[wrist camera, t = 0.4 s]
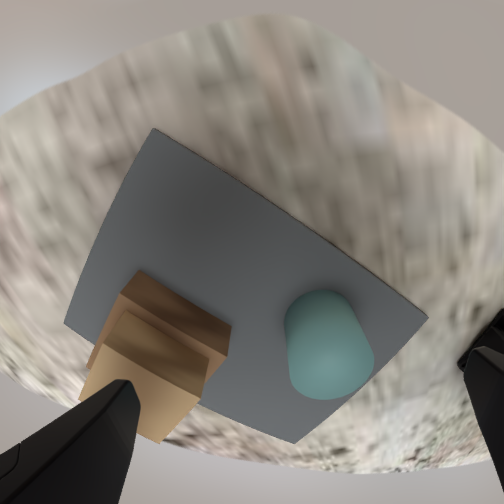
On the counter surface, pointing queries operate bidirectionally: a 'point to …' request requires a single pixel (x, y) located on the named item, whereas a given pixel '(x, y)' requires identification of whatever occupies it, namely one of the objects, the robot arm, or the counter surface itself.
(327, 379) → the teal cylinder
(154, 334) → the oak block
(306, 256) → the slate mat
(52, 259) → the counter surface
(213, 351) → the walnut base block
